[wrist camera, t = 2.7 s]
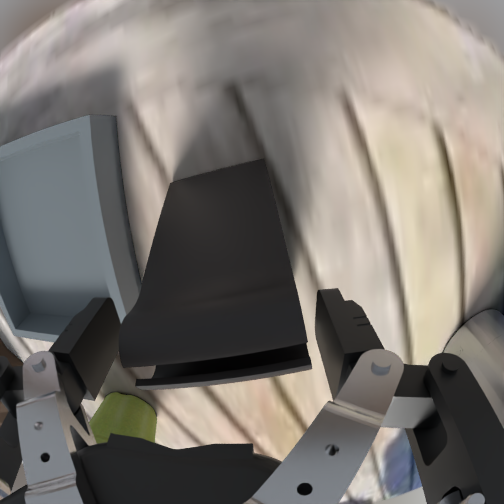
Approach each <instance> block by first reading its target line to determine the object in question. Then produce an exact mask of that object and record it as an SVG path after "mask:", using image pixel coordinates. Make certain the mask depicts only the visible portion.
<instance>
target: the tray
mask: <svg viewBox="0 0 504 504" xmlns="http://www.w3.org/2000/svg"><path fill="white" fill-rule="evenodd" d="M141 286H142V284H141V279H140V275H139V271H138V266H137V261H136V257H135V252H134V247H133V242H132V237H131V231H130V226H129V220H128V214H127V208H126V202H125V195H124V188H123V181H122V173H121V165H120V156H119V146H118V135H117V123H116V116H109V115H87V116H83V117H80V118H76V119H73V120H70V121H66V122H63V123H60V124H57V125H54V126H51V127H48V128H45V129H43V130H40V131H37V132H34V133H32V134H29V135H27V136H24V137H22V138H19V139H17V140H14V141H12V142H9V143H7V144H5V145H2V146H0V306H1V308H2V311H3V313H4V315H5V318H6V320H7V322H8V324H9V326H10V328H11V331H12V333H13V335H14V336H19V337H25V338H30V339H36V340H43V341H49V342H55V341H56V340H57V338H58V337H59V336H60V334H61V333H62V332H63V331H64V329H65V328H66V326H67V325H69V322H70V321H71V320H72V318H73V317H74V316H75V315H76V314H78V313H79V312H80V311H82V310H83V309H85V307H86V306H87V305H88V303H89V302H90V301H91V300H92V298H94V297H110V298H112V300H113V301H114V304H115V307H116V310H117V313H118V316H119V319H120V322H121V323H122V321H123V319H124V317H125V316H126V315H127V314H128V313H129V312H130V311H131V310H132V308H133V307H134V305H135V304H136V302H137V299H138V297H139V294H140V291H141Z"/></svg>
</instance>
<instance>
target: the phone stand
mask: <svg viewBox="0 0 504 504" xmlns="http://www.w3.org/2000/svg"><path fill="white" fill-rule="evenodd" d="M307 342H308V340H307V335H306V330H305V325H304V320H303V315H302V310H301V306H300V301H299V297H298V292H297V288H296V284H295V281H294V277H293V273H292V269H291V265H290V261H289V256H288V252H287V248H286V244H285V240H284V235H283V231H282V227H281V223H280V219H279V215H278V211H277V207H276V203H275V199H274V195H273V191H272V188H271V184H270V180H269V176H268V172H267V168H266V165H265V161H264V159H261V160H256V161H252V162H248V163H244V164H239V165H235V166H231V167H227V168H223V169H219V170H216V171H212V172H208V173H204V174H201V175H197V176H193V177H190V178H186V179H183V180H179V181H176V182H172V183H170V186H169V189H168V192H167V195H166V198H165V201H164V205H163V208H162V211H161V215H160V218H159V221H158V225H157V228H156V232H155V236H154V239H153V243H152V247H151V250H150V254H149V258H148V262H147V266H146V270H145V274H144V278H143V282H142V286H141V291H140V294H139V297H138V299H137V302H136V304H135V305H134V307H133V308H132V310H131V311H130V312H129V313H128V314H127V315H126V316H125V317H124V319H123V321H122V323H121V327H120V331H119V354H120V359H121V363H122V366H123V368H126V367H141V366H154V365H156V369H155V373H154V375H153V377H152V379H136V385H135V386H136V387H137V388H139V389H141V390H158V389H175V388H188V387H200V386H210V385H219V384H227V383H235V382H242V381H249V380H256V379H262V378H268V377H274V376H280V375H285V374H291V373H296V372H301V371H306V370H310V369H312V364H311V359H310V357H309V354H308V349H307V344H306V343H307Z"/></svg>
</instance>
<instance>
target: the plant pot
mask: <svg viewBox="0 0 504 504" xmlns="http://www.w3.org/2000/svg"><path fill="white" fill-rule="evenodd" d="M89 424H90V427H91V430H92V432H93V435H94V438H95V440H96V442H97V444H98V443H105V442H108V439H109V436H110V433H113V434H119V435H125V436H131V437H138V438H143V439H145V440H148V441H151V442H154V443H155V433H156V424H157V417H156V414H155V411H154V409H153V408H152V407H151V406H150V405H149V404H147V403H146V402H144V401H143V400H141V399H139V398H137V397H135V396H133V395H122V394H120V393H118V392H114V393H110V394H108V395H107V396H106V397H105V399H104V401H103V402H102V404H101V405H100V407H99V408H98V410H97V411H96V413H95V414H94V416H93V417H92V419H91V420H90V422H89Z"/></svg>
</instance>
